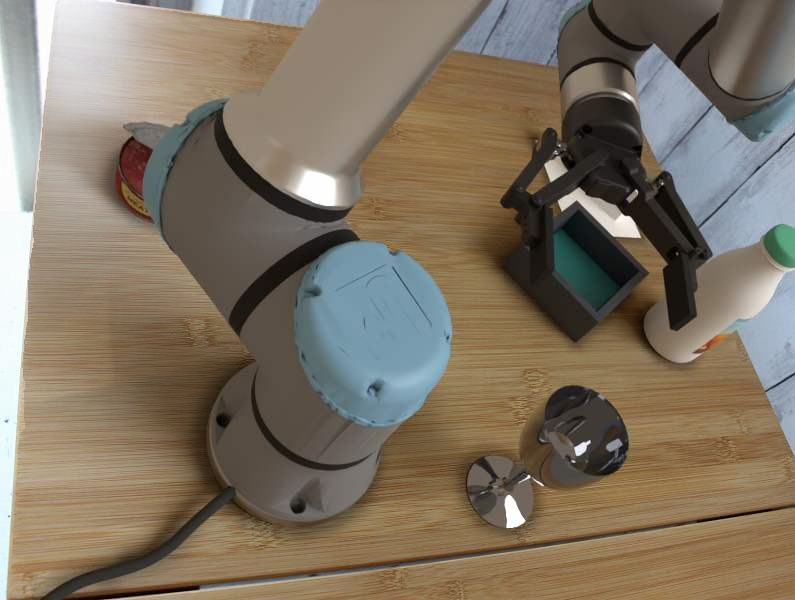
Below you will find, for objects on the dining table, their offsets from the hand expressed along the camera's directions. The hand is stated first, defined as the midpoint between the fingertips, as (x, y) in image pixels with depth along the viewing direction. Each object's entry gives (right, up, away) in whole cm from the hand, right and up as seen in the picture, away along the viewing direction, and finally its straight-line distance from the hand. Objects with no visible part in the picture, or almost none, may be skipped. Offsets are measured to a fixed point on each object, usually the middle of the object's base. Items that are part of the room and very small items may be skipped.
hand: (614, 301), depth 69 cm
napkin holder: (+6, +14, +39) cm, 42 cm away
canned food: (-41, +11, +14) cm, 45 cm away
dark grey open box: (+2, +2, +28) cm, 29 cm away
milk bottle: (+14, -4, +30) cm, 34 cm away
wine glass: (-8, -18, +10) cm, 22 cm away
